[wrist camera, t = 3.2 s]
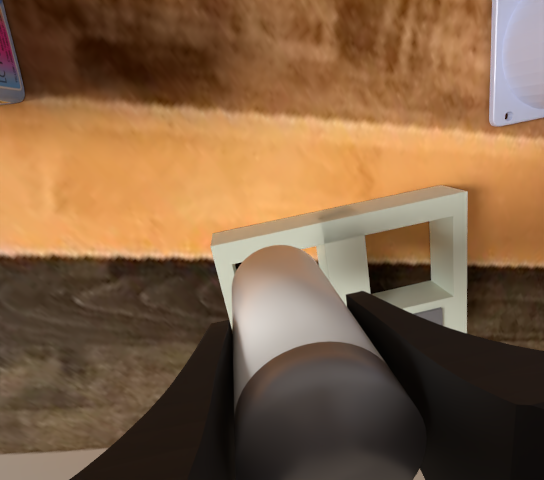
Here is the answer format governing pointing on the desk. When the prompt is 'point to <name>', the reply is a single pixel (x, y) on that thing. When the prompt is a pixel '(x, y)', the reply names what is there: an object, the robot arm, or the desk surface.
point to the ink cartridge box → (9, 65)
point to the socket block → (352, 249)
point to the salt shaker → (312, 381)
